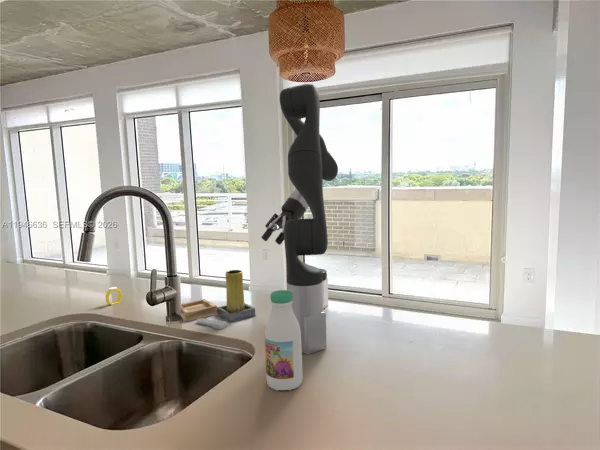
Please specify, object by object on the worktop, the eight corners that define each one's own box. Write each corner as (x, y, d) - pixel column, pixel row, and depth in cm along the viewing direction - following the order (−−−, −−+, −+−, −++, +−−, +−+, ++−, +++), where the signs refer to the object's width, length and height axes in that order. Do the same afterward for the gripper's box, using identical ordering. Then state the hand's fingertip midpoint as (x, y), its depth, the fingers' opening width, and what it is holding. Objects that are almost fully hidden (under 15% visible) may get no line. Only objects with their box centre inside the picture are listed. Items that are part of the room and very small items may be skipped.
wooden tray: (219, 313, 133) (218, 306, 133) (186, 321, 127) (186, 313, 127) (205, 305, 142) (205, 298, 142) (174, 312, 136) (174, 305, 136)
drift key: (226, 326, 122) (226, 322, 122) (220, 329, 119) (219, 325, 119) (202, 320, 128) (202, 316, 127) (195, 323, 125) (195, 318, 125)
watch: (110, 307, 145) (108, 291, 143) (105, 306, 146) (102, 290, 145) (124, 301, 150) (121, 285, 149) (118, 300, 151) (116, 285, 150)
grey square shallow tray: (255, 315, 131) (255, 308, 130) (229, 322, 125) (229, 314, 125) (241, 308, 138) (241, 301, 137) (217, 314, 132) (216, 307, 132)
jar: (333, 305, 138) (332, 271, 136) (315, 311, 132) (314, 275, 131) (315, 300, 144) (314, 266, 143) (297, 305, 139) (296, 270, 138)
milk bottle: (283, 370, 93) (280, 285, 91) (309, 380, 88) (307, 291, 86) (259, 384, 87) (255, 294, 85) (286, 396, 83) (282, 300, 80)
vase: (223, 317, 129) (220, 273, 128) (231, 311, 135) (229, 269, 134) (240, 319, 128) (238, 274, 126) (248, 312, 134) (246, 269, 132)
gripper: (279, 195, 144) (252, 231, 138) (303, 197, 132) (274, 237, 127) (292, 209, 147) (266, 245, 142) (316, 212, 136) (289, 251, 131)
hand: (270, 241), depth 135 cm, fingers open, 8 cm apart
